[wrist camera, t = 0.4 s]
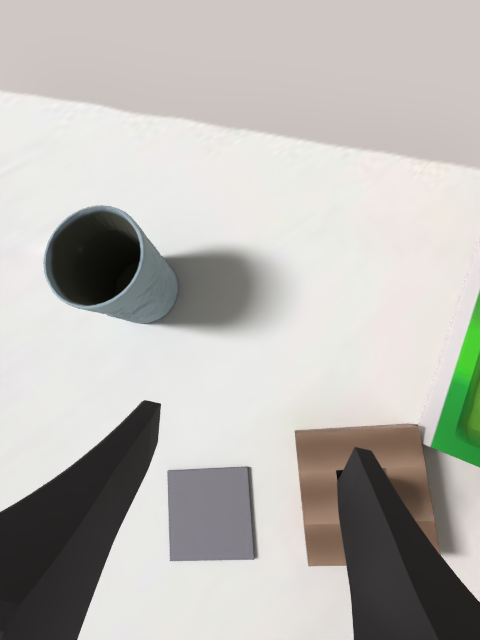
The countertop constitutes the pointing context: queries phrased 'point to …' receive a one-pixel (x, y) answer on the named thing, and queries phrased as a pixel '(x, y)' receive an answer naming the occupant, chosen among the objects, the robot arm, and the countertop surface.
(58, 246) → the grey cup
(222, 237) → the countertop surface
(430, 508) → the housing
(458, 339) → the tray
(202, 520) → the mat
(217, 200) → the countertop surface
